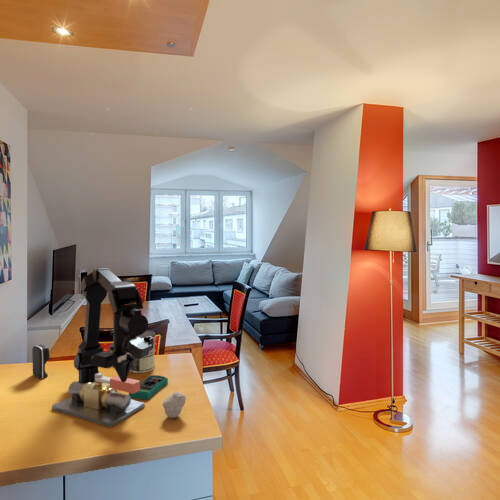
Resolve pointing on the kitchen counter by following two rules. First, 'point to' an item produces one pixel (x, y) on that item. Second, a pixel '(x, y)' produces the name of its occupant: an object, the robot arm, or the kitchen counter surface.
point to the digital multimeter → (150, 387)
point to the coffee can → (145, 357)
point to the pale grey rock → (174, 404)
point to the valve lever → (119, 383)
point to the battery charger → (40, 360)
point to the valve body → (98, 403)
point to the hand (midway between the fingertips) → (123, 381)
